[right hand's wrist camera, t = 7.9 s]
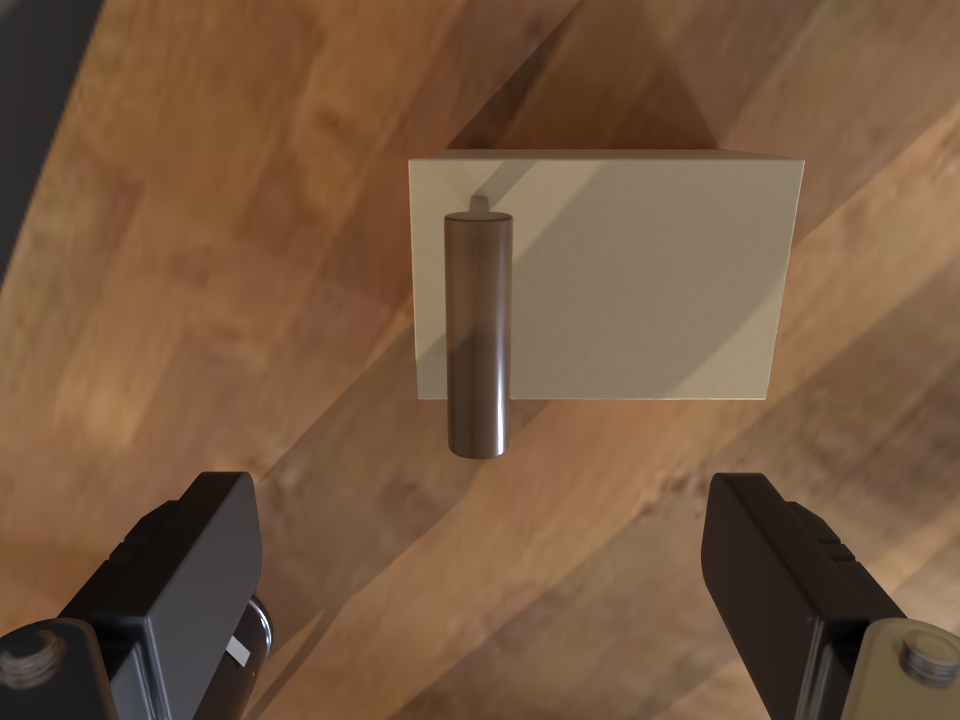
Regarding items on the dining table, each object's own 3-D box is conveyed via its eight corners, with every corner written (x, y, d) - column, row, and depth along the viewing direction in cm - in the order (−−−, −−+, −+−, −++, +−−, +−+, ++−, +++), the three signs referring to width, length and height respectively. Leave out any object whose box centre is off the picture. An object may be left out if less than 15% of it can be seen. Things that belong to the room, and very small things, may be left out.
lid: (418, 390, 30) (395, 494, 22) (411, 157, 27) (378, 174, 18) (756, 390, 30) (863, 494, 22) (793, 157, 27) (937, 174, 18)
